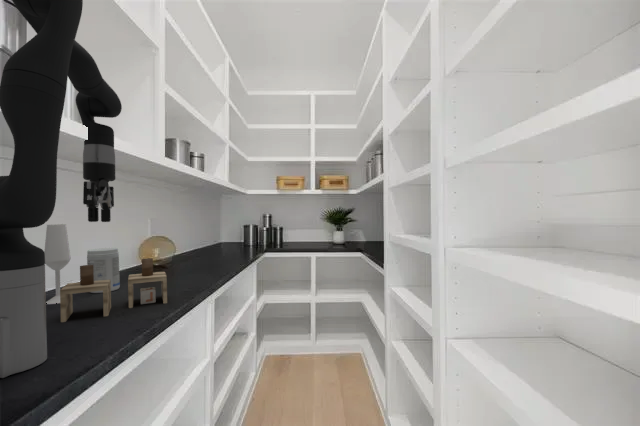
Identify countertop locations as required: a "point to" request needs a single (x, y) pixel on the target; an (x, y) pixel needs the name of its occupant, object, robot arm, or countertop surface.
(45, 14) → the robot arm
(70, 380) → the countertop surface
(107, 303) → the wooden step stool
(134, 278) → the oak cover
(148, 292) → the letter cube
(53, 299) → the champagne flute
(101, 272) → the supplement tub
